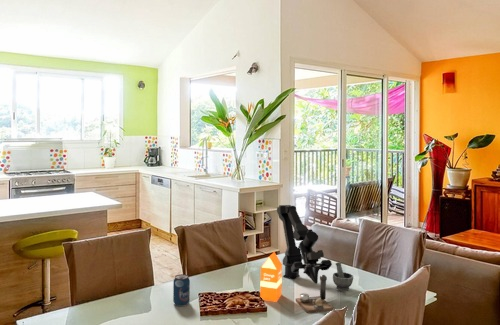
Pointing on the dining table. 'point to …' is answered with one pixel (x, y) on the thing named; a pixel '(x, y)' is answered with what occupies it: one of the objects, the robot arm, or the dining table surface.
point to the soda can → (181, 290)
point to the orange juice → (271, 279)
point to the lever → (323, 278)
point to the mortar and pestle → (342, 279)
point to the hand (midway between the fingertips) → (316, 283)
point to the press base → (315, 305)
